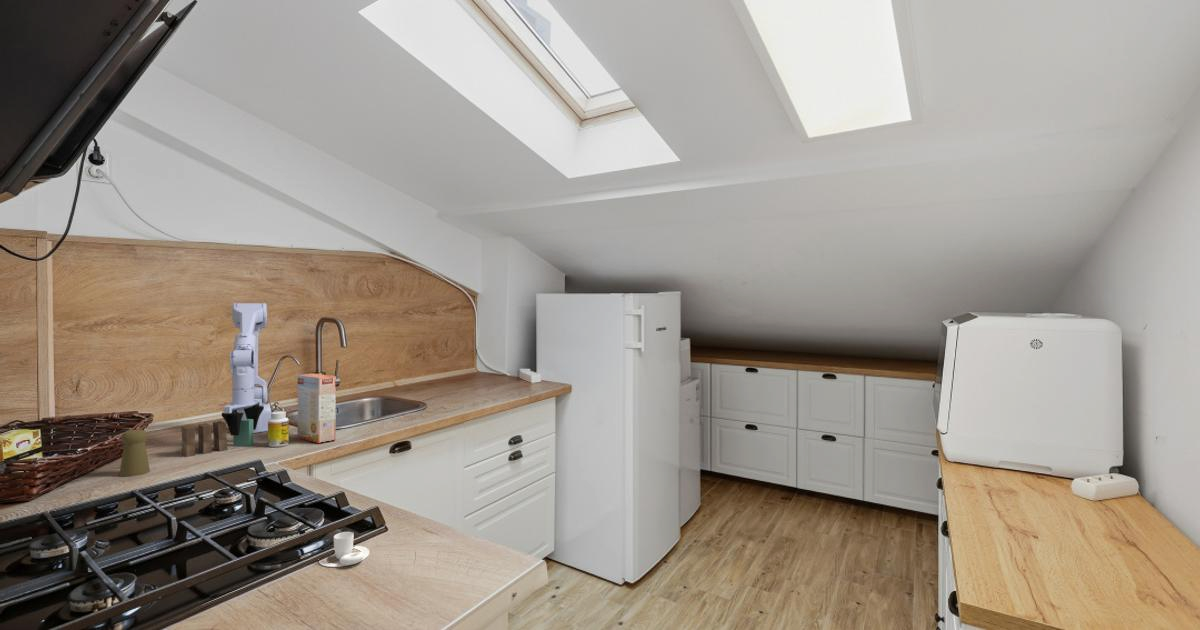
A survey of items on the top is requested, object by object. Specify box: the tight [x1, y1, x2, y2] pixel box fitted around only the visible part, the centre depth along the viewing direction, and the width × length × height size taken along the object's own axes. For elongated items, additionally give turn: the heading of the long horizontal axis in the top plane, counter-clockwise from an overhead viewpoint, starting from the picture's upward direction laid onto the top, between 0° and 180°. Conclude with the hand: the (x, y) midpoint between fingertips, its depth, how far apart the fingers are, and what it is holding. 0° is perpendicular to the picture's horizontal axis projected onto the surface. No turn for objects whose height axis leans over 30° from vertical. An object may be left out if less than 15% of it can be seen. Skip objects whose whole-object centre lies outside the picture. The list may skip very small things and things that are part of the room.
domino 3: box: [212, 420, 228, 452], centre depth 165 cm, size 2×5×8 cm, turn 50°
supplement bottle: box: [267, 410, 290, 448], centre depth 170 cm, size 6×6×10 cm
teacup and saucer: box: [318, 531, 370, 568], centre depth 94 cm, size 9×8×4 cm
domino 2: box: [197, 422, 213, 455], centre depth 162 cm, size 2×5×8 cm, turn 50°
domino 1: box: [181, 425, 196, 458], centre depth 159 cm, size 2×5×8 cm, turn 50°
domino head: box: [232, 419, 254, 447], centre depth 170 cm, size 2×5×8 cm, turn 87°
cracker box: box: [297, 372, 337, 444], centre depth 178 cm, size 14×6×21 cm, turn 53°
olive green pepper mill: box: [118, 429, 151, 478], centre depth 141 cm, size 6×6×11 cm
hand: (243, 432), depth 170 cm, fingers open, 7 cm apart
